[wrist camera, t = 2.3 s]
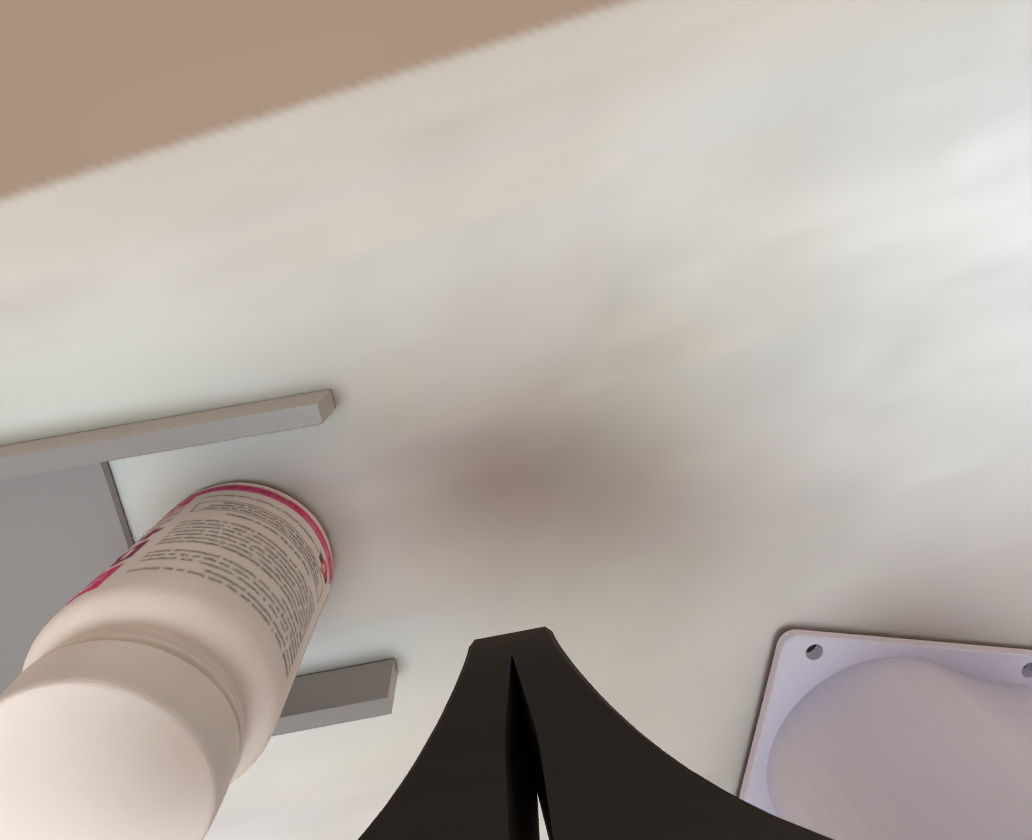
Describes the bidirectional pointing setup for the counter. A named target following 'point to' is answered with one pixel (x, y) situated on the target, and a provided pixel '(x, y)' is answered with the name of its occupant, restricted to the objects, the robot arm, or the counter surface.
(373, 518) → the counter surface
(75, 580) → the tray
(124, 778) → the pill bottle
